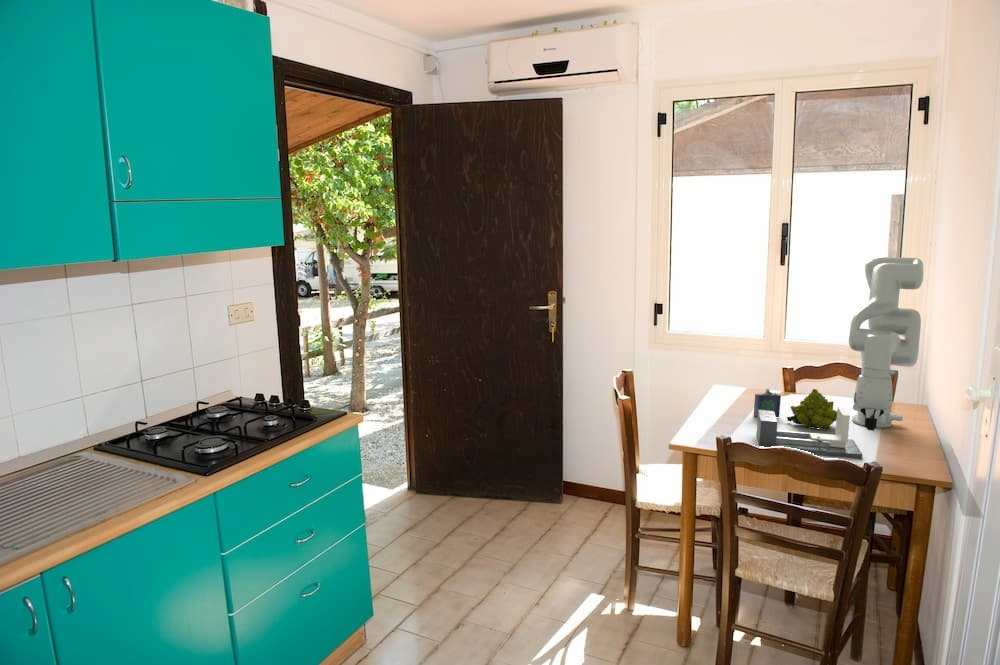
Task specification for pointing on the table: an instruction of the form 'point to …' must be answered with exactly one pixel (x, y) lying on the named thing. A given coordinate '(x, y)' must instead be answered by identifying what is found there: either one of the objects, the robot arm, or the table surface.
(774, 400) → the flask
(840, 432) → the white block
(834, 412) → the vegetable
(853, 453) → the base
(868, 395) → the robot arm
